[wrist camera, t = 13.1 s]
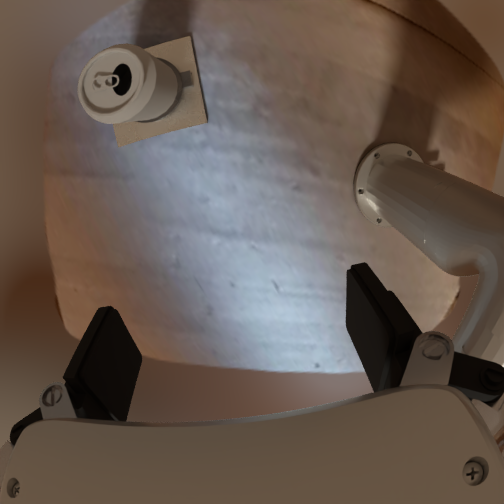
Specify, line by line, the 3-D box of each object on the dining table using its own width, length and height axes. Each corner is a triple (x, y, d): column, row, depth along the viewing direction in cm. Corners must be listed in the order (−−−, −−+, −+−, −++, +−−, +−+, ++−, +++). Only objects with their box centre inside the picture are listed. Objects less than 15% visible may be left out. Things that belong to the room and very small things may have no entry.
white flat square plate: (191, 37, 28) (188, 32, 25) (207, 122, 33) (205, 123, 31) (104, 65, 28) (96, 63, 26) (120, 146, 33) (113, 148, 31)
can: (180, 115, 30) (152, 116, 20) (122, 124, 30) (72, 133, 19) (178, 56, 27) (150, 30, 16) (119, 67, 27) (70, 53, 16)
